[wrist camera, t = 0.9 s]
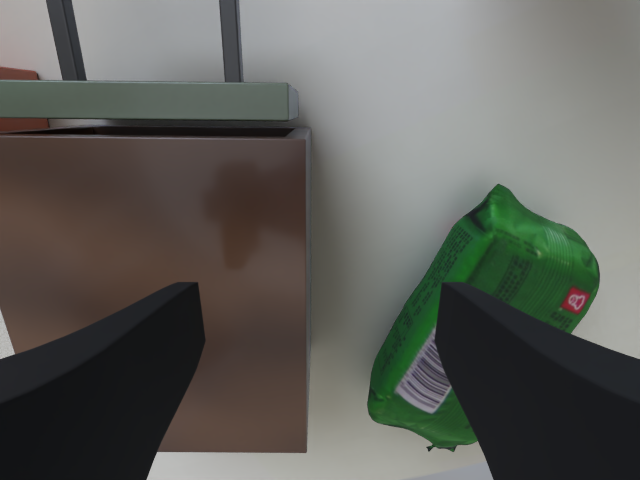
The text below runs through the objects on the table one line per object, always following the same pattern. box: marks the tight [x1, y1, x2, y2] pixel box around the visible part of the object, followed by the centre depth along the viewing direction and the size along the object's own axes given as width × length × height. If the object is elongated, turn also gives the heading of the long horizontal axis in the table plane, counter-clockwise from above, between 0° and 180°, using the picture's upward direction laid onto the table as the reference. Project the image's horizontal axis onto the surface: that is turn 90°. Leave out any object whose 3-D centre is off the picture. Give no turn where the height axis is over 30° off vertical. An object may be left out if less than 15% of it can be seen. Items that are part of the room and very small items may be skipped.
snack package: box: [367, 184, 600, 452], centre depth 20 cm, size 7×16×5 cm, turn 156°
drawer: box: [0, 0, 298, 121], centre depth 16 cm, size 17×10×6 cm, turn 179°
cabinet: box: [0, 125, 311, 453], centre depth 17 cm, size 14×12×8 cm
